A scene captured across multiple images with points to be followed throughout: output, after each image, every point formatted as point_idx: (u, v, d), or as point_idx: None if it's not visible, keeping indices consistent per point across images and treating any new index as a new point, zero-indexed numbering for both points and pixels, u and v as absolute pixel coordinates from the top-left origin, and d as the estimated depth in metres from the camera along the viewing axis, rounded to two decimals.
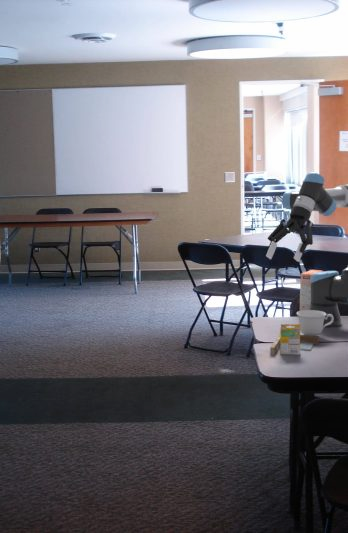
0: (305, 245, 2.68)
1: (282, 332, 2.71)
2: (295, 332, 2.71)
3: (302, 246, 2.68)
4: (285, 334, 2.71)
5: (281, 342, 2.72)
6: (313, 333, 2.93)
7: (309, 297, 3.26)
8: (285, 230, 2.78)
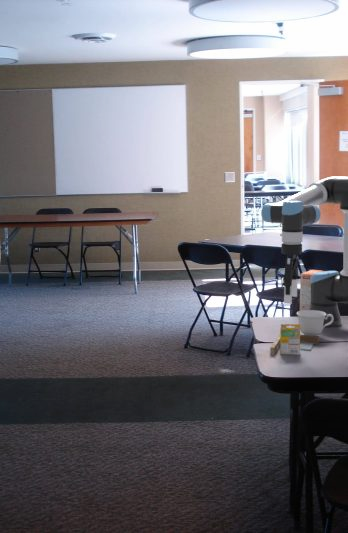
0: (287, 287, 2.62)
1: (282, 332, 2.71)
2: (295, 332, 2.71)
3: (285, 289, 2.63)
4: (285, 334, 2.71)
5: (281, 342, 2.72)
6: (313, 333, 2.93)
7: (309, 297, 3.26)
8: None
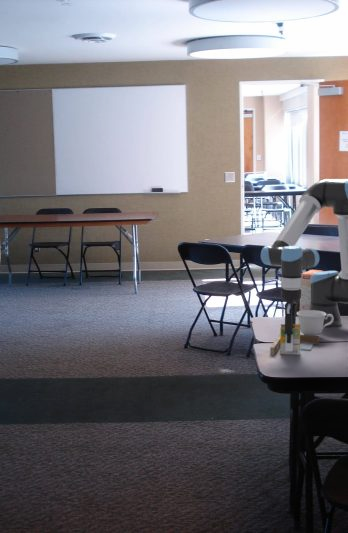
0: (288, 335, 2.69)
1: (282, 332, 2.71)
2: (295, 332, 2.71)
3: (287, 337, 2.70)
4: (285, 334, 2.71)
5: (281, 342, 2.72)
6: (313, 333, 2.93)
7: (309, 297, 3.26)
8: None
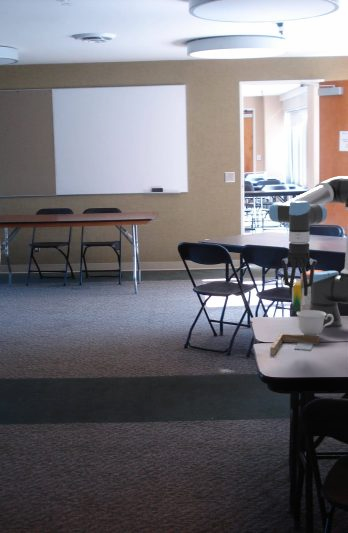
0: (307, 288, 2.74)
1: (301, 289, 2.72)
2: None
3: (305, 290, 2.74)
4: (301, 290, 2.73)
5: (300, 299, 2.72)
6: (313, 333, 2.93)
7: (309, 297, 3.26)
8: (295, 269, 2.73)
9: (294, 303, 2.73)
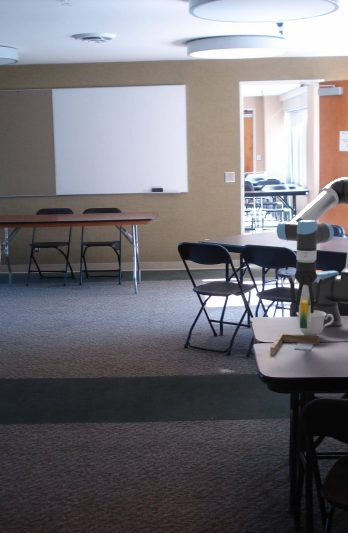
0: (314, 305, 2.79)
1: (307, 306, 2.77)
2: (309, 303, 2.82)
3: (312, 308, 2.79)
4: None
5: (307, 316, 2.78)
6: (313, 333, 2.93)
7: None
8: (302, 287, 2.79)
9: (301, 320, 2.78)
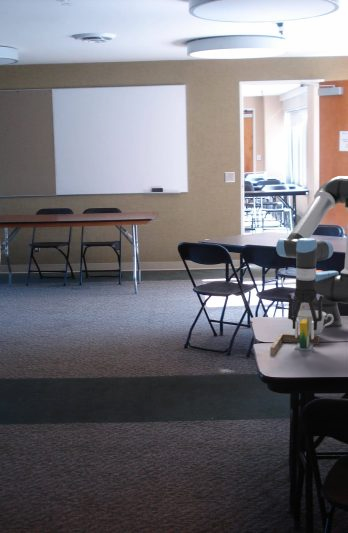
0: None
1: (307, 326, 2.79)
2: None
3: (315, 325, 2.80)
4: (307, 327, 2.80)
5: (307, 336, 2.79)
6: None
7: None
8: (300, 304, 2.80)
9: (300, 340, 2.80)
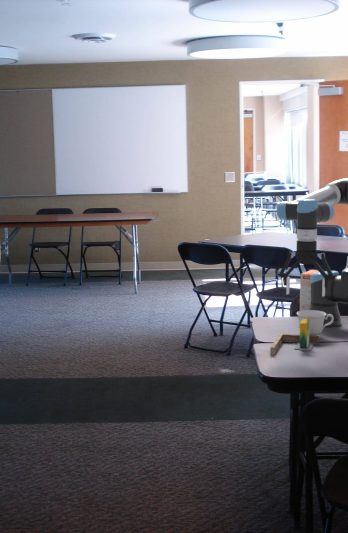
0: (328, 279, 2.76)
1: (307, 326, 2.79)
2: None
3: (326, 282, 2.76)
4: (307, 327, 2.80)
5: (307, 336, 2.79)
6: (313, 333, 2.93)
7: (309, 297, 3.26)
8: None
9: (300, 340, 2.80)
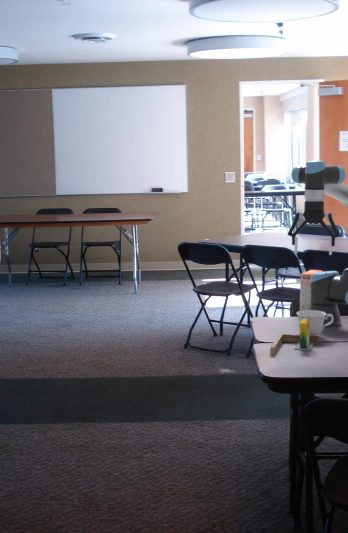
0: (334, 239, 2.86)
1: (307, 326, 2.79)
2: None
3: (333, 241, 2.86)
4: (307, 327, 2.80)
5: (307, 336, 2.79)
6: (313, 333, 2.93)
7: (309, 297, 3.26)
8: (305, 224, 2.88)
9: (300, 340, 2.80)
